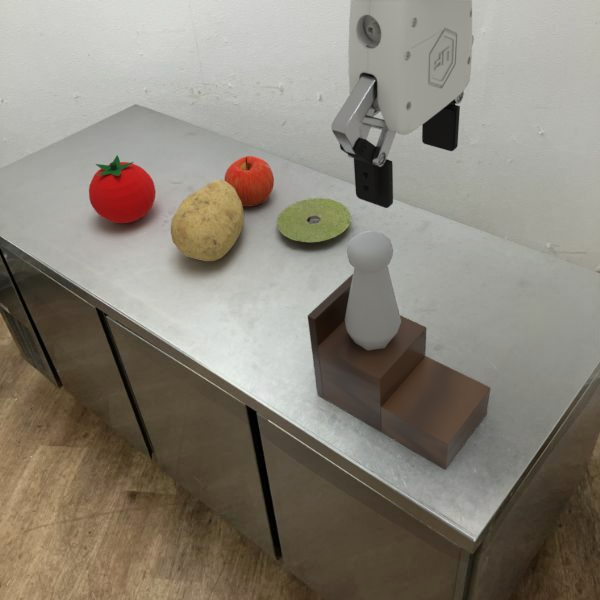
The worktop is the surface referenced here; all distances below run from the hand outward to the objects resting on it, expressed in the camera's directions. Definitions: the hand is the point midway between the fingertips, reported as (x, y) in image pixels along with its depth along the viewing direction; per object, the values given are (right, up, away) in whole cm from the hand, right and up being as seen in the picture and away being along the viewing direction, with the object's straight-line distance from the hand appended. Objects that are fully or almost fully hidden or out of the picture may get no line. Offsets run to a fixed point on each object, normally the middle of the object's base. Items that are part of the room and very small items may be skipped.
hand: (408, 172), depth 54 cm
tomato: (-37, +3, +53) cm, 65 cm away
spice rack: (+3, -23, +20) cm, 30 cm away
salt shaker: (-1, -15, +16) cm, 21 cm away
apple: (-17, +6, +53) cm, 56 cm away
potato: (-22, -3, +45) cm, 50 cm away
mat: (-7, 0, +46) cm, 46 cm away
